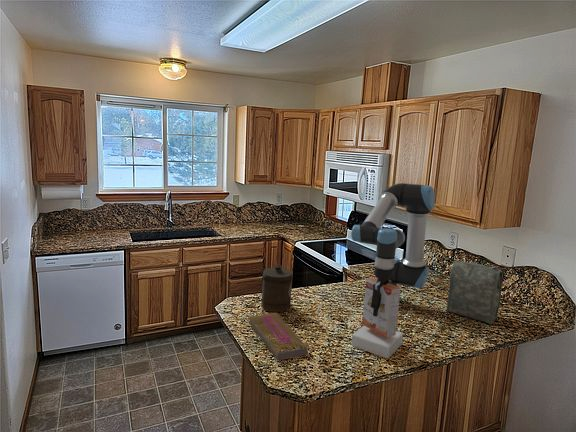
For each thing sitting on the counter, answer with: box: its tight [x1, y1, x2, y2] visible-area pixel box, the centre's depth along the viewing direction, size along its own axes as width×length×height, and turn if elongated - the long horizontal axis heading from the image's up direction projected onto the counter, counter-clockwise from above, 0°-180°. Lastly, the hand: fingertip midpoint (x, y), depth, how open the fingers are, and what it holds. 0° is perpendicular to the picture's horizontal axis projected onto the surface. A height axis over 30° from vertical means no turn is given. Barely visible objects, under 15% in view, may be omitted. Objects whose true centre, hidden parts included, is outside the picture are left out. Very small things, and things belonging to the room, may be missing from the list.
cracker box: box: [361, 276, 402, 338], centre depth 163 cm, size 14×6×21 cm, turn 34°
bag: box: [445, 259, 504, 325], centre depth 199 cm, size 22×16×27 cm
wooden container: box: [261, 264, 293, 313], centre depth 198 cm, size 15×15×22 cm
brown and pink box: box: [246, 312, 310, 361], centre depth 167 cm, size 35×14×6 cm, turn 24°
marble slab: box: [351, 325, 404, 359], centre depth 166 cm, size 16×16×5 cm
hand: (379, 319), depth 164 cm, fingers closed on cracker box, 7 cm apart
